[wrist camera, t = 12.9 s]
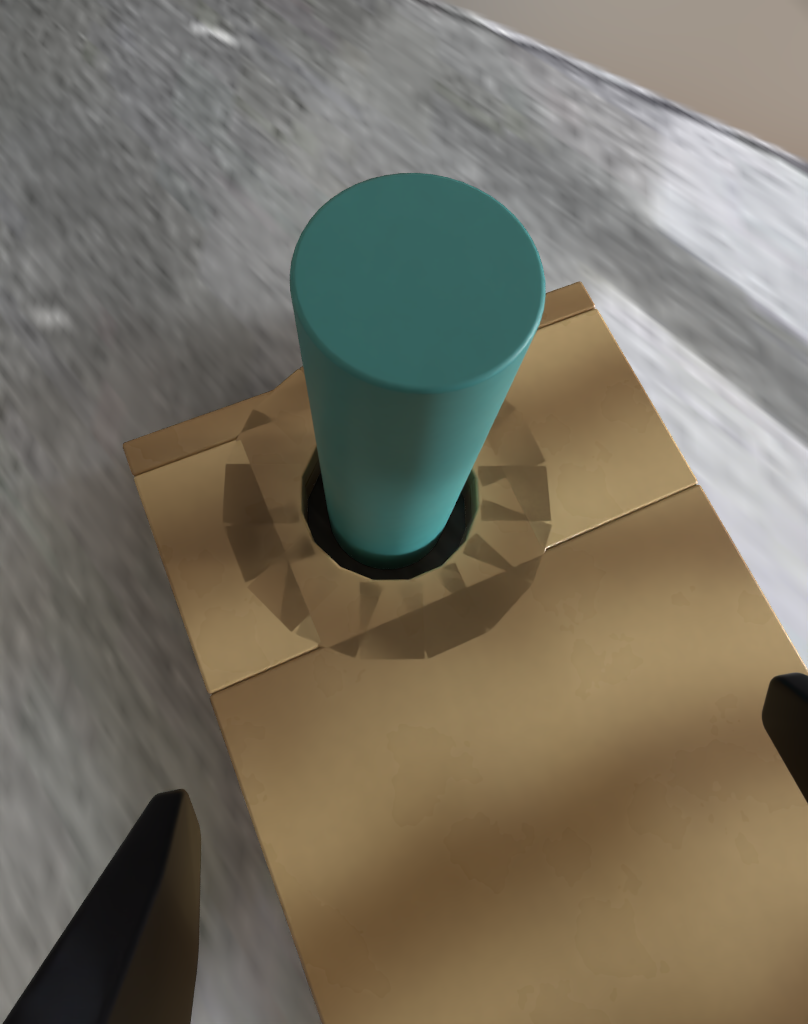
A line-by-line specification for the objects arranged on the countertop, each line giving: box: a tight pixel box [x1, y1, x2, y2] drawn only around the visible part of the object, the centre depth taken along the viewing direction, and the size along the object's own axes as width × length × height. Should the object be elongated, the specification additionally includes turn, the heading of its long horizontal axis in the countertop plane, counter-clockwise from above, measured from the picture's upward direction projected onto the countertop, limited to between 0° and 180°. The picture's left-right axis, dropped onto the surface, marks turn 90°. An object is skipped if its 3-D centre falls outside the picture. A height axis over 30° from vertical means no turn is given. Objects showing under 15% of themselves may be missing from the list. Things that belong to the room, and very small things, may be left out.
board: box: [123, 282, 808, 1024], centre depth 17 cm, size 20×14×2 cm
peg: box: [290, 173, 546, 569], centre depth 14 cm, size 3×3×11 cm
